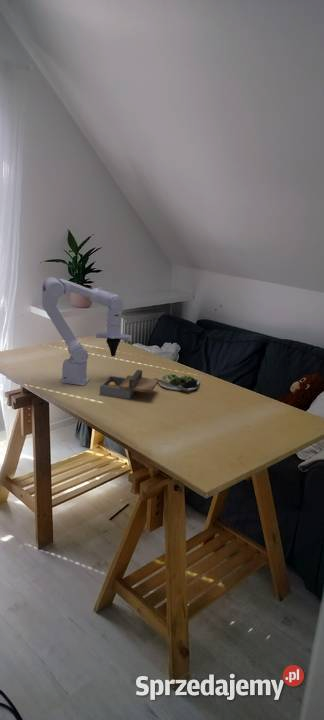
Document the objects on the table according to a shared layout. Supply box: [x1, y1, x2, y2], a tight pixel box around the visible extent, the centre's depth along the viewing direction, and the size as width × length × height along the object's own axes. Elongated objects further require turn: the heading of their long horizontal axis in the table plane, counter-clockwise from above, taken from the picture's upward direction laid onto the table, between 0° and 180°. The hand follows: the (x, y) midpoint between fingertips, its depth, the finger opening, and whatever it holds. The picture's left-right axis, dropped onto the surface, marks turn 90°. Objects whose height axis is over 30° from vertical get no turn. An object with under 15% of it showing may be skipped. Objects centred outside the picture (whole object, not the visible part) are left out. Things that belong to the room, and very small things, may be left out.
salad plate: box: [153, 374, 201, 393], centre depth 215 cm, size 19×18×5 cm
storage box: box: [99, 375, 136, 400], centre depth 203 cm, size 12×12×4 cm
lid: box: [119, 369, 159, 394], centre depth 200 cm, size 13×13×4 cm
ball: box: [108, 382, 116, 387], centre depth 203 cm, size 3×3×3 cm
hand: (113, 355), depth 213 cm, fingers closed
